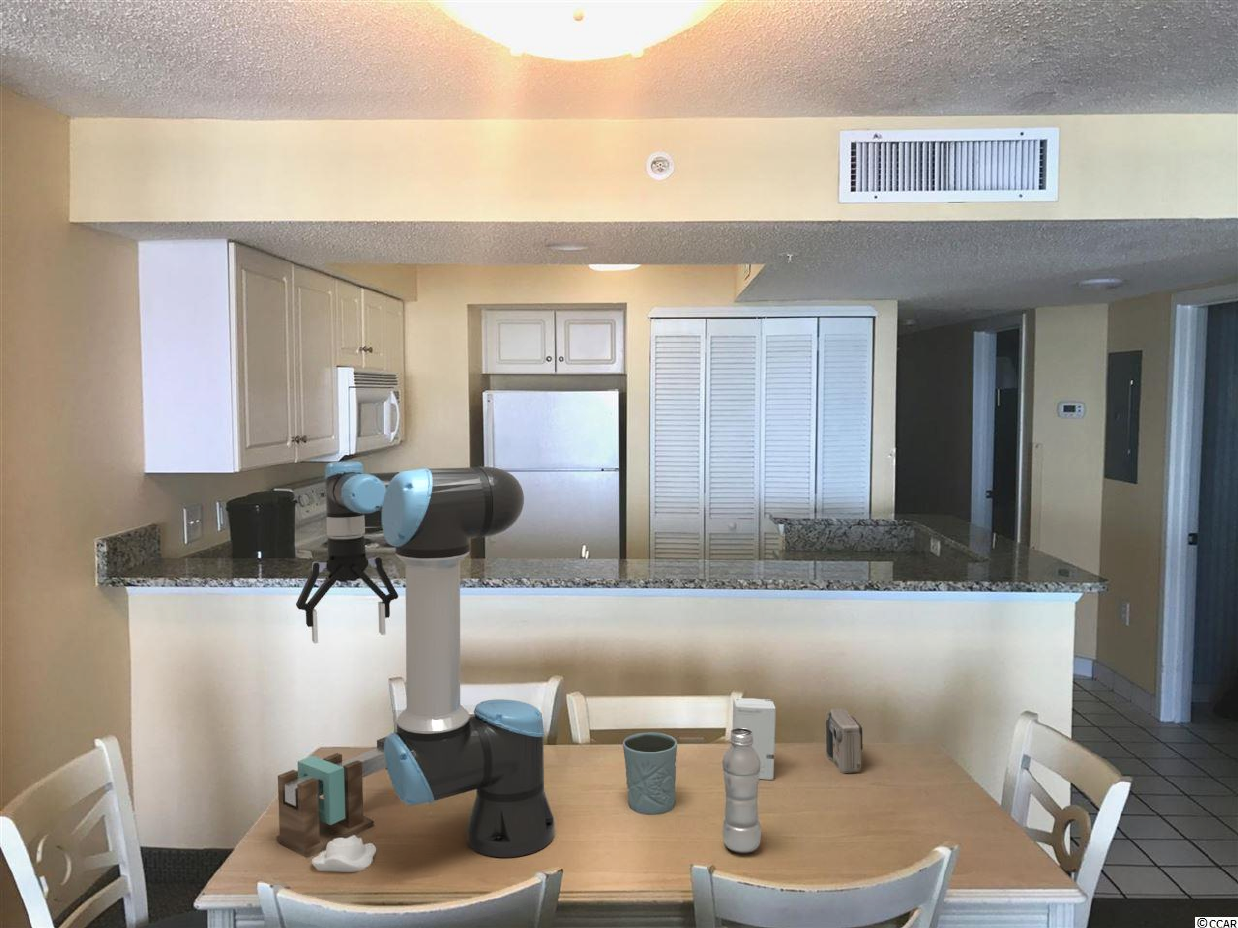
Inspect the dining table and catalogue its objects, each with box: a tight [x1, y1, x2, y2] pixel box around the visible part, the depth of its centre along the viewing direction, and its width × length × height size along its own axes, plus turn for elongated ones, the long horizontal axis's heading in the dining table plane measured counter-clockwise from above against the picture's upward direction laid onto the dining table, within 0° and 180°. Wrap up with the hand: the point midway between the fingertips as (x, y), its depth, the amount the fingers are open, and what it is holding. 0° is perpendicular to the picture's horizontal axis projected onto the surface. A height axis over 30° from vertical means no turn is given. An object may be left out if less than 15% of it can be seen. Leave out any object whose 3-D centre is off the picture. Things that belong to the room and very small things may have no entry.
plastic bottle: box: [721, 728, 762, 854], centre depth 145 cm, size 6×7×20 cm
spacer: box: [297, 755, 345, 825], centre depth 151 cm, size 3×9×9 cm, turn 54°
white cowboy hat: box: [311, 835, 377, 873], centre depth 143 cm, size 10×4×10 cm
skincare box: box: [732, 697, 776, 781], centre depth 175 cm, size 8×6×15 cm
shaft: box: [285, 736, 387, 806], centre depth 156 cm, size 25×5×5 cm, turn 144°
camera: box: [825, 707, 864, 774], centre depth 180 cm, size 11×6×10 cm, turn 0°
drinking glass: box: [622, 731, 678, 816], centre depth 162 cm, size 10×10×12 cm
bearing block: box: [275, 752, 375, 858], centre depth 152 cm, size 14×9×12 cm, turn 144°
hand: (349, 637), depth 181 cm, fingers open, 13 cm apart
